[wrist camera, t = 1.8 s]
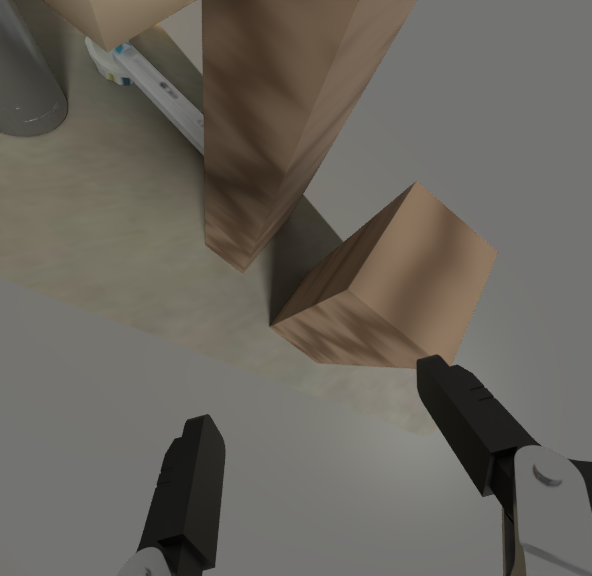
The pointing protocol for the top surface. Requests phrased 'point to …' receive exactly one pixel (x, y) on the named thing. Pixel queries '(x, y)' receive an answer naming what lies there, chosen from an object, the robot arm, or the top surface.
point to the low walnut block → (392, 289)
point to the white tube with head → (150, 87)
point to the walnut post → (279, 104)
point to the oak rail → (115, 17)
